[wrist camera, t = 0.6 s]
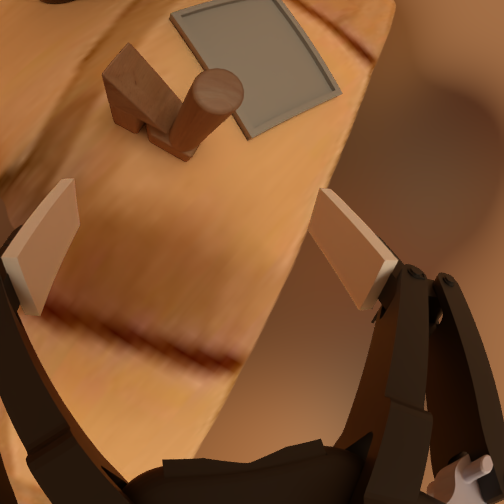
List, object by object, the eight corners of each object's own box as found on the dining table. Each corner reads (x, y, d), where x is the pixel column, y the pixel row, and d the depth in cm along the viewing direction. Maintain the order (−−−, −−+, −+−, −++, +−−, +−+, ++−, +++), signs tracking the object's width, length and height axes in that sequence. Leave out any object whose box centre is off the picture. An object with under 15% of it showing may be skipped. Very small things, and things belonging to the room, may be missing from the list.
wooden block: (129, 98, 29) (129, 15, 13) (200, 138, 33) (258, 85, 17) (112, 123, 29) (94, 51, 13) (185, 163, 33) (231, 126, 17)
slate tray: (169, 18, 28) (170, 13, 27) (268, -7, 32) (272, -11, 31) (247, 140, 36) (252, 138, 34) (337, 96, 40) (342, 93, 38)
